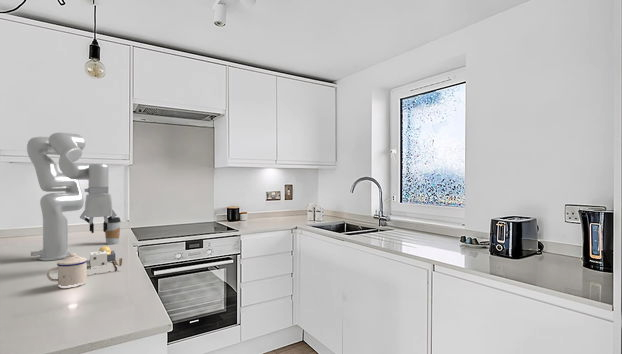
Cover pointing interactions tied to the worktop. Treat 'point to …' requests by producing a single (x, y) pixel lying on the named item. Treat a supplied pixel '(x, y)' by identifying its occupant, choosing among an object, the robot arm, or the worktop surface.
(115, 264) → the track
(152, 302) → the worktop surface
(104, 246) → the dome button
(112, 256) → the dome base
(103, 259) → the die
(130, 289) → the worktop surface
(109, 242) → the coffee cup
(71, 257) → the teacup with lid
